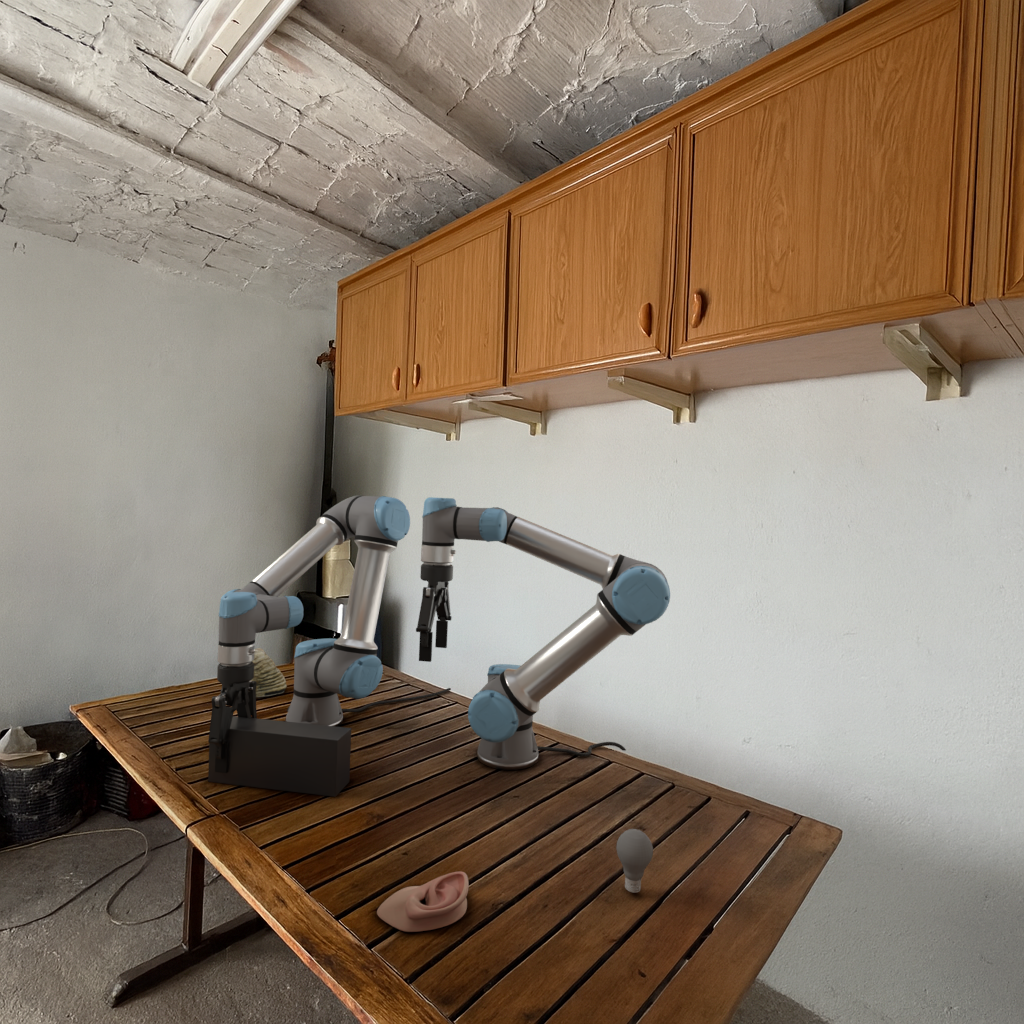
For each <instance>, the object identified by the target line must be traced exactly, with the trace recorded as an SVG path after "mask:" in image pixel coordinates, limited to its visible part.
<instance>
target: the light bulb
mask: <svg viewBox="0 0 1024 1024" xmlns="http://www.w3.org/2000/svg"><path fill="white" fill-rule="evenodd" d="M615 849H616V854H617V857H618V859H619V861H620V863H621V865H622V867H623V873H624V874H623V875H624V876H625V878H624V888H625V890H627V891H628V892H630V893H634V894H635V893H639V892H640V891H641V889H642V887H641V886H642V879H643V877H644V875H645V871H646V868H647V867H648V866H649V864H650V863H651V861H652V859H653V855H654V847H653V843H652V841H651V838H649V836H648V835H647V834H646V833H645V832H643V831H642V830H641V829H636V828H629V829H627V830H625V831H623V832H622V833H621V834H620V835H619V837H618V839H617V841H616V847H615Z"/></svg>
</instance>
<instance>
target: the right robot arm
mask: <svg viewBox="0 0 1024 1024" xmlns="http://www.w3.org/2000/svg"><path fill="white" fill-rule="evenodd" d="M421 518H422V528H421V529H422V534H421V549H420V551H421V552H420V561H421V563H422V564H421V565H420V580H422V581H423V582H427V586H424V587H423V588H422V598H421V604H420V607H419V608H420V610H419V614H418V620H417V625H416V628H415V632H416V633H419V646H418V647H419V648H418V662H426V663H432V655H433V631H432V630H433V625H434V621H435V617H437V620H436V623H435V643H434V645H435V647H434V648H438V649H439V648H440V649H447V648H448V629H449V627H448V625H449V621H450V622H451V621H452V618H453V617H452V615H451V614H452V613H451V603H450V592H449V583H450V581H453V578H454V565H453V564H452V563H453V562H454V555H456V554H457V551H456V550H455V540H467V541H480V542H481V541H482V542H487V543H490V542H499V543H502V544H504V545H507V546H509V547H512V548H514V549H517V550H519V551H521V552H522V553H525V554H528V555H530V556H533V557H535V558H538V559H540V560H542V561H544V562H547V563H549V564H551V565H554V566H556V567H558V568H561V569H563V570H565V571H568V572H570V573H572V574H575V575H577V576H580V577H582V578H584V579H586V580H589V581H590V582H593V583H596V584H598V585H600V586H601V588H602V589H601V590H600V591H599V592H598V593H597V594H596V602H595V604H594V605H592V606H591V608H589V609H588V610H587V611H586V612H584V613H583V614H582V615H580V617H578V618H577V619H575V621H573V622H572V623H571V624H570V625H569V626H567V627H566V628H565V629H564V630H563V631H562V632H560V633H559V634H557V636H555V637H554V638H552V640H550V641H549V642H548V643H547V644H546V645H544V646H543V647H542V648H541V649H540V650H538V651H537V652H536V653H535V654H534V655H532V656H531V657H530V658H529V659H527V660H526V661H524V663H522V664H521V665H519V664H508V663H498V664H492V665H490V666H489V667H488V671H487V682H486V683H485V685H484V686H483V687H482V688H481V689H480V690H479V692H477V693H476V694H474V695H473V697H472V699H471V700H470V703H469V705H468V710H467V719H468V723H469V725H470V728H471V729H472V730H473V732H474V733H475V735H477V736H478V737H479V738H480V741H479V744H478V747H477V752H476V753H477V754H476V755H477V760H478V761H479V762H480V763H482V764H483V765H484V766H487V767H489V768H493V769H498V770H505V771H517V770H524V769H529V768H530V767H533V766H534V765H536V764H537V763H538V761H539V751H543V752H544V751H545V752H555V753H557V752H558V753H565V754H568V755H573V756H576V757H581V758H585V757H589V756H591V755H592V753H593V752H592V750H593V749H596V748H601V747H609V746H611V747H616V748H619V749H620V750H621V751H627V749H626V748H625V746H623V745H622V744H620V743H618V742H614V741H604V742H599V743H594V744H591V745H589V746H588V748H587V751H586V752H579V751H576V750H572V749H567V748H561V747H551V746H539V745H538V743H537V740H536V737H535V733H534V728H533V721H534V715H535V714H536V713H538V712H539V710H540V707H541V705H540V704H541V701H542V700H543V699H544V698H545V697H546V696H548V695H549V694H550V693H551V692H553V691H554V690H555V689H556V688H558V687H559V686H560V685H561V684H562V683H564V682H565V681H566V680H567V679H569V678H570V677H571V676H573V675H574V674H575V673H576V672H577V671H579V670H580V669H581V668H582V667H583V666H585V665H586V664H587V663H589V662H590V661H591V660H592V659H594V658H595V657H596V656H598V654H600V653H601V652H602V651H604V650H605V649H606V648H607V647H609V645H612V643H613V642H614V641H616V640H617V639H618V638H620V637H621V636H629V637H632V636H633V635H635V634H636V633H637V632H638V631H639V630H641V629H642V628H643V627H645V626H646V625H648V624H652V623H653V622H656V621H658V620H659V619H660V618H661V617H662V616H663V615H664V614H665V613H666V611H667V609H668V607H669V604H670V601H671V588H670V585H669V583H668V580H667V577H666V575H665V574H664V572H663V571H662V570H661V569H660V568H659V567H658V566H656V565H654V564H652V563H648V562H646V561H642V560H639V559H635V558H632V557H629V556H626V555H623V554H621V553H616V554H613V555H612V554H610V553H607V552H606V551H602V550H601V549H598V548H595V547H593V546H591V545H588V544H585V543H583V542H581V541H578V540H576V539H573V538H571V537H569V536H566V535H565V534H564V535H563V534H562V533H558V532H556V531H554V530H552V529H549V528H546V527H544V526H542V525H539V524H537V523H535V522H532V521H529V520H527V519H526V518H523V517H520V516H517V515H515V514H513V513H510V512H508V511H507V510H506V509H504V508H501V507H498V506H496V507H494V506H493V507H462V506H457V500H456V499H455V498H454V497H453V498H450V497H434V496H433V497H432V496H431V497H427V498H425V500H424V502H423V511H422V517H421Z"/></svg>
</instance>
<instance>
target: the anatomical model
mask: <svg viewBox="0 0 1024 1024" xmlns="http://www.w3.org/2000/svg"><path fill="white" fill-rule="evenodd" d="M469 884H470V883H469V877H468V875H467V873H466V872H464V871H454V872H449V873H446V874H443V875H440V876H437V877H436V878H434V879H432V880H430V881H428V882H426V883H424V884H421V885H413V886H406V887H403V888H401V889H400V890H399V889H398V890H397V891H395V892H394V893H392V894H391V895H390V896H389V897H388V898H386V899H385V900H384V901H383V902H382V903H381V904H380V905H379V906H378V908H377V910H376V915H377V916H378V917H379V919H381V921H383V922H385V923H386V924H388V925H389V926H391V927H393V928H394V929H396V930H399V931H402V932H405V933H417V932H423V931H431V930H436V929H440V928H443V927H447V926H450V925H452V924H454V923H456V922H457V921H459V920H460V919H462V918H463V917H464V915H465V914H466V912H467V908H468V899H467V896H468V893H469V888H470V887H469V886H470V885H469Z"/></svg>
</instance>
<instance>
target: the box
mask: <svg viewBox="0 0 1024 1024" xmlns="http://www.w3.org/2000/svg"><path fill="white" fill-rule="evenodd" d="M222 738H223V737H222ZM227 742H229V767H228V772H227V773H220V772H215V744H213V743H209V742H208V771H207V772H208V773H207V782H210V783H218V784H224V785H225V784H226V785H233V786H241V787H249V788H250V787H251V788H260V789H267V790H273V791H275V790H276V791H283V792H292V793H301V794H308V795H309V794H311V795H316V796H326V797H333V798H335V797H337V796H338V795H339V794H340V792H341V791H342V790H343V789H344V788H345V787H346V786H347V785H348V784H349V783H350V774H351V747H352V746H351V745H352V727H343V726H337V727H335V726H325V725H316V724H306V723H296V722H286V720H274V719H265V718H258V717H257V718H244V717H238V715H237V716H236V715H233V718H232V722H231V726H230V729H229V734H228V738H227Z"/></svg>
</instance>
